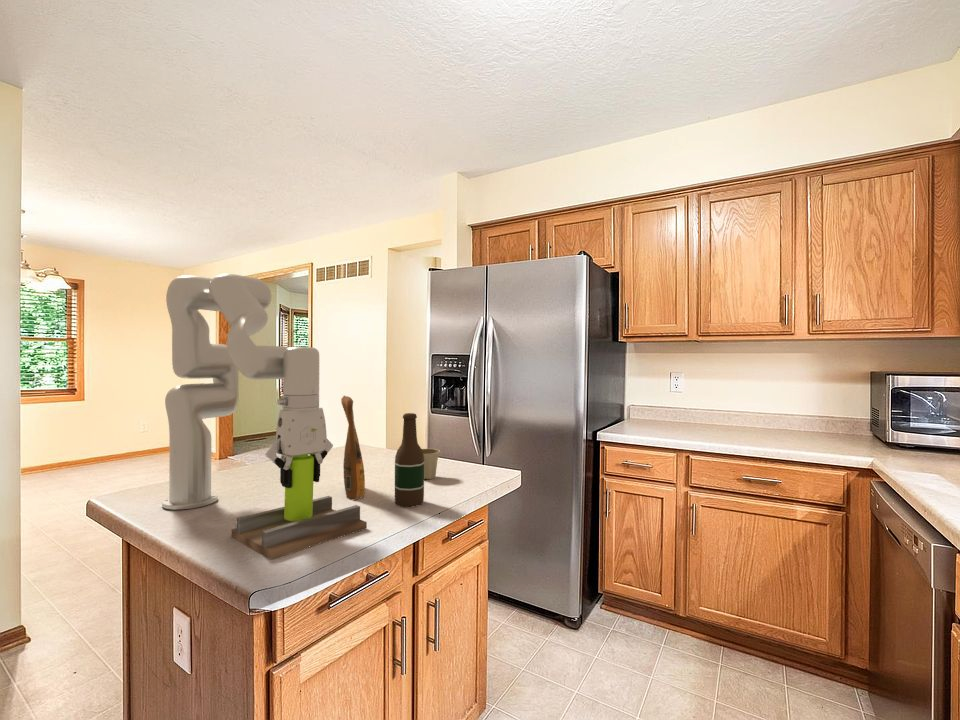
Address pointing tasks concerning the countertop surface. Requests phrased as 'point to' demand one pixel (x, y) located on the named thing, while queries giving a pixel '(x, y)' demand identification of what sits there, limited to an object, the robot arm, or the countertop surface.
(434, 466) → the flower pot
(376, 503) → the countertop surface
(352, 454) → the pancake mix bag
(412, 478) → the beer bottle
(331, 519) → the track board
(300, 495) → the soap dispenser
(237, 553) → the countertop surface
